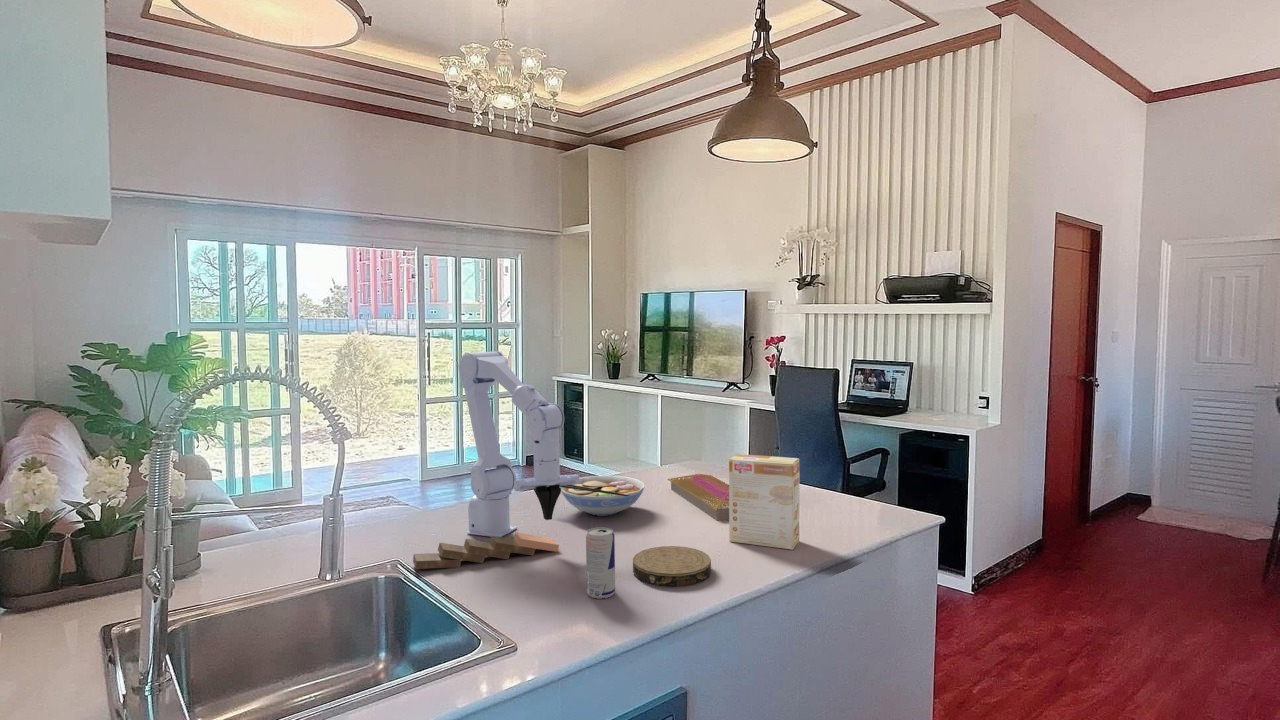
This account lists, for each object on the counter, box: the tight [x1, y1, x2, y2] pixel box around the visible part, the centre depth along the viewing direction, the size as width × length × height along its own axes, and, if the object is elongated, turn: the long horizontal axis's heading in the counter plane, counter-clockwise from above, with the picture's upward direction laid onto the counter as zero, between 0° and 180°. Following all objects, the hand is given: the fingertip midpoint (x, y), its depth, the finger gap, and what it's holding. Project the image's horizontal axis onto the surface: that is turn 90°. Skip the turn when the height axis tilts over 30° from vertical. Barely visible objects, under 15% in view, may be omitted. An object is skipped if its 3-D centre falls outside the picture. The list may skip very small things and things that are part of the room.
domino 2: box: [437, 542, 486, 564], centre depth 147 cm, size 2×5×9 cm
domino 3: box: [463, 538, 511, 560], centre depth 150 cm, size 2×5×9 cm
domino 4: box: [488, 536, 536, 557], centre depth 152 cm, size 2×5×9 cm
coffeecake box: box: [728, 453, 801, 551], centre depth 158 cm, size 15×7×20 cm, turn 65°
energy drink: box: [585, 526, 616, 600], centre depth 130 cm, size 5×5×12 cm
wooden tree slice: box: [632, 545, 712, 588], centre depth 141 cm, size 16×16×3 cm
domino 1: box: [412, 552, 462, 570], centre depth 145 cm, size 2×5×9 cm
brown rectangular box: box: [667, 473, 729, 522], centre depth 193 cm, size 35×14×6 cm, turn 18°
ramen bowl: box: [560, 475, 646, 517], centre depth 183 cm, size 25×23×8 cm
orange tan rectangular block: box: [513, 531, 560, 553], centre depth 154 cm, size 2×5×9 cm
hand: (547, 518), depth 155 cm, fingers closed
